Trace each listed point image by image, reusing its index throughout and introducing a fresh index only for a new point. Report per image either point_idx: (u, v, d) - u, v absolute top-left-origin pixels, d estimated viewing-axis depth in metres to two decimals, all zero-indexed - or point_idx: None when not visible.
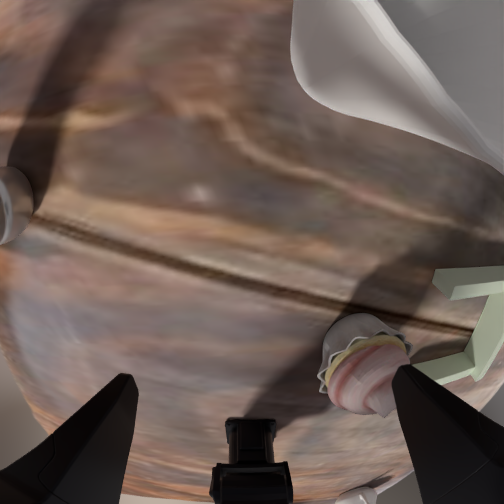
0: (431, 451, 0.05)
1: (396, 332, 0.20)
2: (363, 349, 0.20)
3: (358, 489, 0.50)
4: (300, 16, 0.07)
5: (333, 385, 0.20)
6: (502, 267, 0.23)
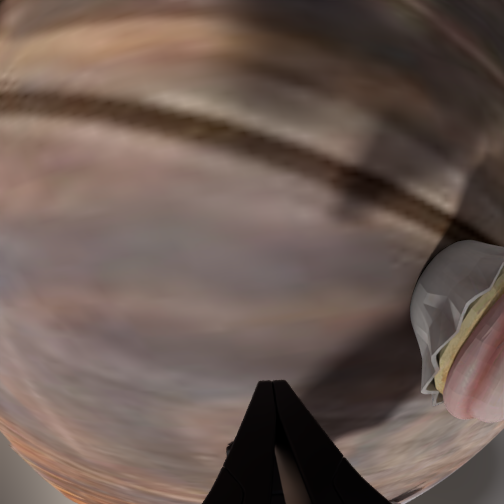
0: (288, 486, 0.05)
1: None
2: None
3: None
4: None
5: (471, 370, 0.07)
6: None
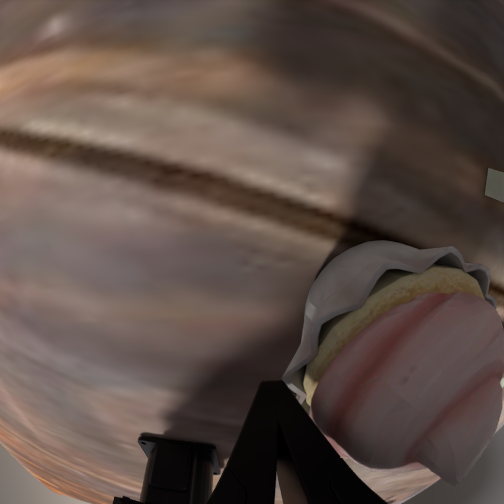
0: (285, 486, 0.05)
1: (474, 264, 0.07)
2: (407, 305, 0.07)
3: None
4: None
5: (324, 406, 0.07)
6: None
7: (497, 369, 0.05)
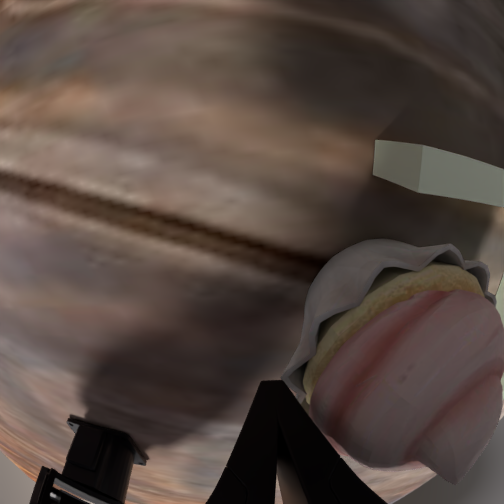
0: (285, 486, 0.05)
1: (474, 262, 0.07)
2: (405, 303, 0.07)
3: None
4: None
5: (323, 405, 0.07)
6: None
7: (497, 367, 0.05)
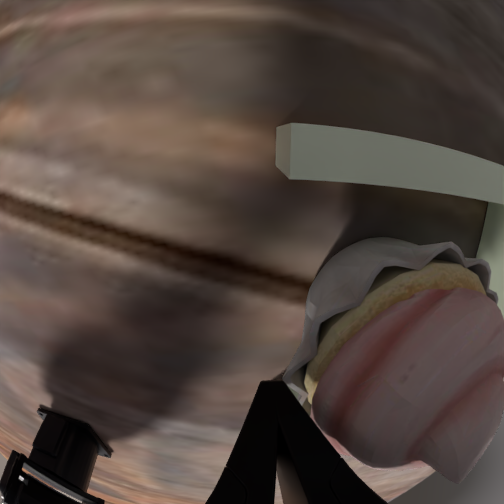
0: (285, 486, 0.05)
1: (475, 259, 0.07)
2: (406, 302, 0.07)
3: None
4: None
5: (324, 405, 0.07)
6: None
7: (499, 365, 0.05)
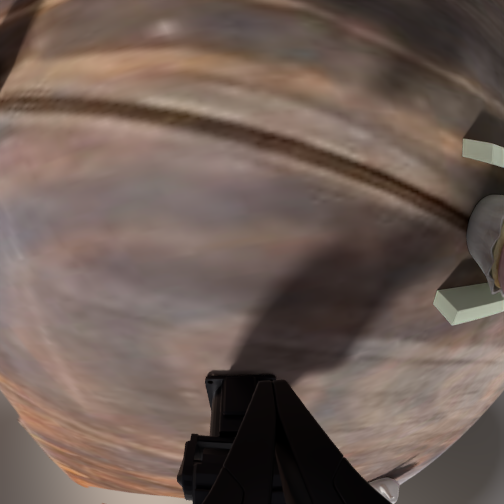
0: (288, 486, 0.05)
1: None
2: None
3: (378, 480, 0.43)
4: None
5: None
6: None
7: None
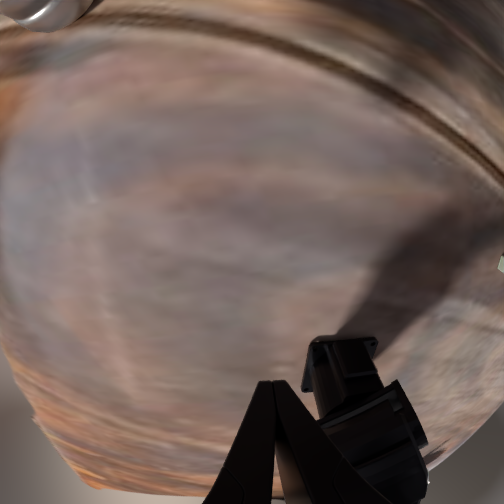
0: (288, 486, 0.05)
1: None
2: None
3: None
4: None
5: None
6: None
7: None
